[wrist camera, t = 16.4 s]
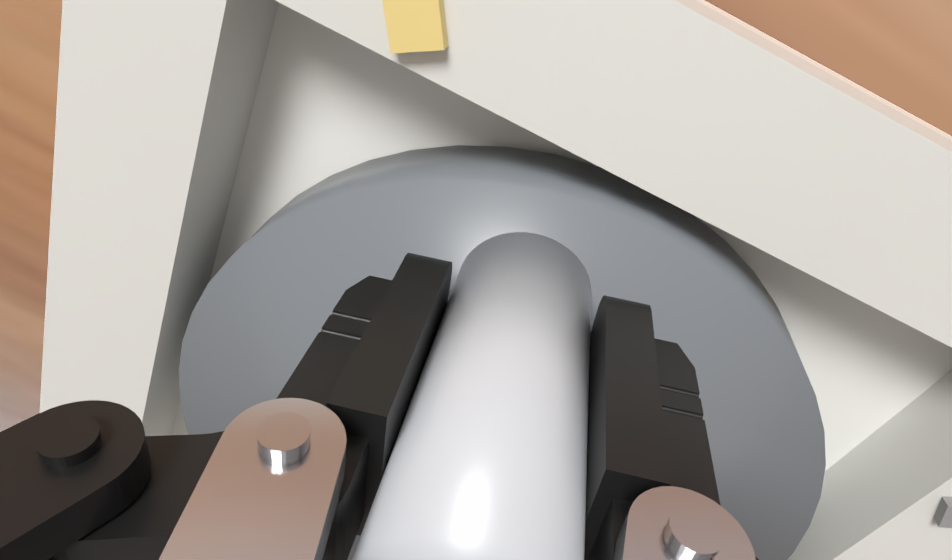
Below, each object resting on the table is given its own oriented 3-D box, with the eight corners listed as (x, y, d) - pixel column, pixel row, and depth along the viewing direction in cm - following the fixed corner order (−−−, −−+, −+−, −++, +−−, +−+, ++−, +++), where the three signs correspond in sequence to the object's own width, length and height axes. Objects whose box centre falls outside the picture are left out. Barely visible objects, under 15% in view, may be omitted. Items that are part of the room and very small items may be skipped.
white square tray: (625, 677, 23) (628, 787, 20) (101, 452, 21) (25, 537, 18) (1190, 267, 12) (1367, 380, 9) (210, -272, 10) (63, -332, 7)
